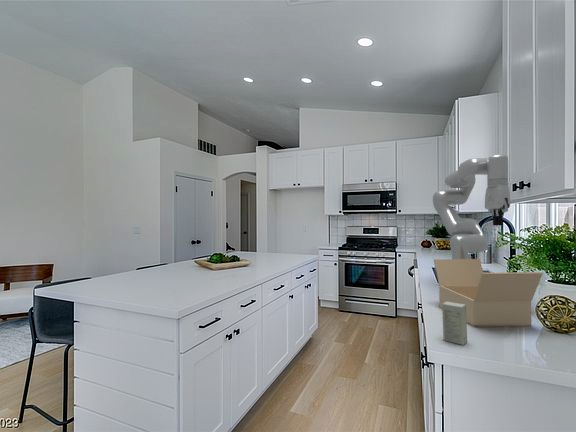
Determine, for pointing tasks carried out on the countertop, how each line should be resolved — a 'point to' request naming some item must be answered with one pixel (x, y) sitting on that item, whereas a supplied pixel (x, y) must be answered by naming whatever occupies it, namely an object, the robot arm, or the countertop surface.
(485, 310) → the carton
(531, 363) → the countertop surface
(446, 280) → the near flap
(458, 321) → the skincare box
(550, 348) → the countertop surface
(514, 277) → the outer flap
